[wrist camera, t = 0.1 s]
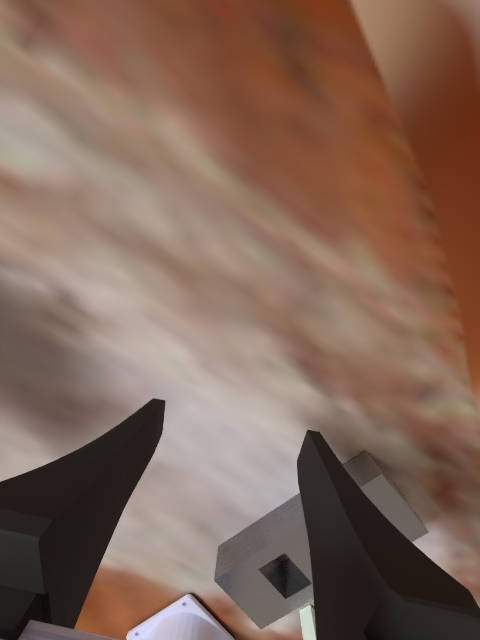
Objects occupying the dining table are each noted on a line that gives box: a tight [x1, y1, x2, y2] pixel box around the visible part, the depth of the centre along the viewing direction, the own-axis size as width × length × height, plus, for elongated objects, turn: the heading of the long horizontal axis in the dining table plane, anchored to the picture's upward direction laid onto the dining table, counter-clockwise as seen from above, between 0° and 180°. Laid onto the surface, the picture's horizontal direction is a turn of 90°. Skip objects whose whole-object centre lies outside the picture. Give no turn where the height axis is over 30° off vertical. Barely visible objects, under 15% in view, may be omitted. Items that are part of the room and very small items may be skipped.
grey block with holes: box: [214, 450, 428, 629], centre depth 24 cm, size 18×7×3 cm, turn 129°
